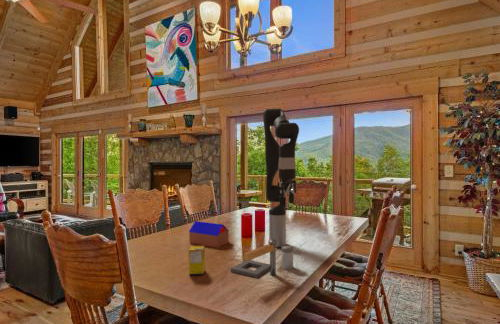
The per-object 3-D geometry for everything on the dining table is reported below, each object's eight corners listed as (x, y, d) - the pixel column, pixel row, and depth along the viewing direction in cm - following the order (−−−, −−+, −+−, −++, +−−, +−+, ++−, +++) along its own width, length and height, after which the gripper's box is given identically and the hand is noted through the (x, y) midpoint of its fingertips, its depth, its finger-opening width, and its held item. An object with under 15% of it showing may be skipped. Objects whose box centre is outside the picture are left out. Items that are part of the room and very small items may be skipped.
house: (217, 248, 170) (217, 226, 169) (188, 243, 179) (188, 223, 179) (229, 242, 180) (229, 222, 180) (201, 238, 190) (201, 219, 190)
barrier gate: (242, 285, 119) (242, 249, 118) (272, 271, 133) (271, 239, 133) (250, 288, 116) (249, 251, 116) (278, 273, 131) (278, 240, 130)
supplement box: (205, 270, 136) (204, 245, 136) (203, 275, 130) (203, 249, 130) (191, 270, 136) (191, 245, 136) (189, 275, 130) (188, 249, 130)
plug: (284, 264, 142) (284, 245, 142) (295, 266, 140) (295, 246, 140) (279, 268, 138) (279, 247, 138) (290, 270, 135) (290, 249, 135)
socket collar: (247, 262, 145) (247, 259, 145) (271, 268, 138) (271, 264, 138) (230, 271, 134) (230, 268, 134) (256, 277, 127) (256, 274, 127)
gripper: (286, 167, 146) (286, 201, 146) (272, 168, 134) (272, 206, 134) (301, 167, 142) (301, 203, 142) (287, 168, 130) (288, 207, 130)
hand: (287, 204), depth 138 cm, fingers open, 8 cm apart
